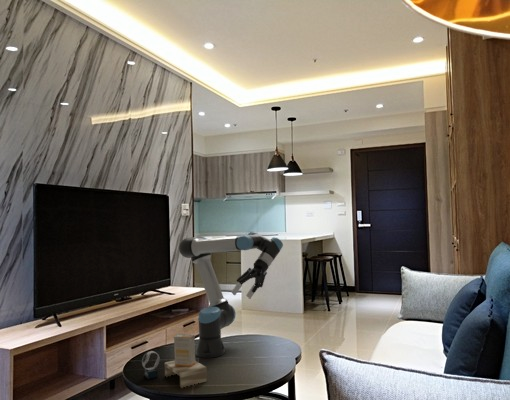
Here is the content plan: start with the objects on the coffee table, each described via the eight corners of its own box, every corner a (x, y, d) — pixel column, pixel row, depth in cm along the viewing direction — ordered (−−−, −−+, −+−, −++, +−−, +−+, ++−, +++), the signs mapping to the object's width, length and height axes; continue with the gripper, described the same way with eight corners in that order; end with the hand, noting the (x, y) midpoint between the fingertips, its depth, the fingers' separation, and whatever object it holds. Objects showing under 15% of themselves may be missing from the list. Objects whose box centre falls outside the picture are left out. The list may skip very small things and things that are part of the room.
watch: (140, 376, 184) (140, 352, 184) (157, 372, 188) (157, 348, 189) (144, 380, 179) (143, 355, 180) (161, 376, 183) (161, 351, 184)
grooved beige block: (164, 376, 183) (164, 362, 184) (188, 369, 190) (188, 356, 191) (181, 388, 169) (181, 373, 169) (206, 381, 176) (206, 367, 176)
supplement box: (195, 363, 181) (195, 334, 182) (190, 367, 176) (190, 337, 177) (179, 362, 184) (178, 333, 184) (174, 365, 179) (173, 336, 180)
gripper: (282, 269, 202) (259, 303, 192) (253, 265, 222) (231, 296, 212) (273, 259, 199) (250, 293, 189) (245, 257, 219) (222, 288, 210)
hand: (240, 295), depth 201 cm, fingers open, 13 cm apart
